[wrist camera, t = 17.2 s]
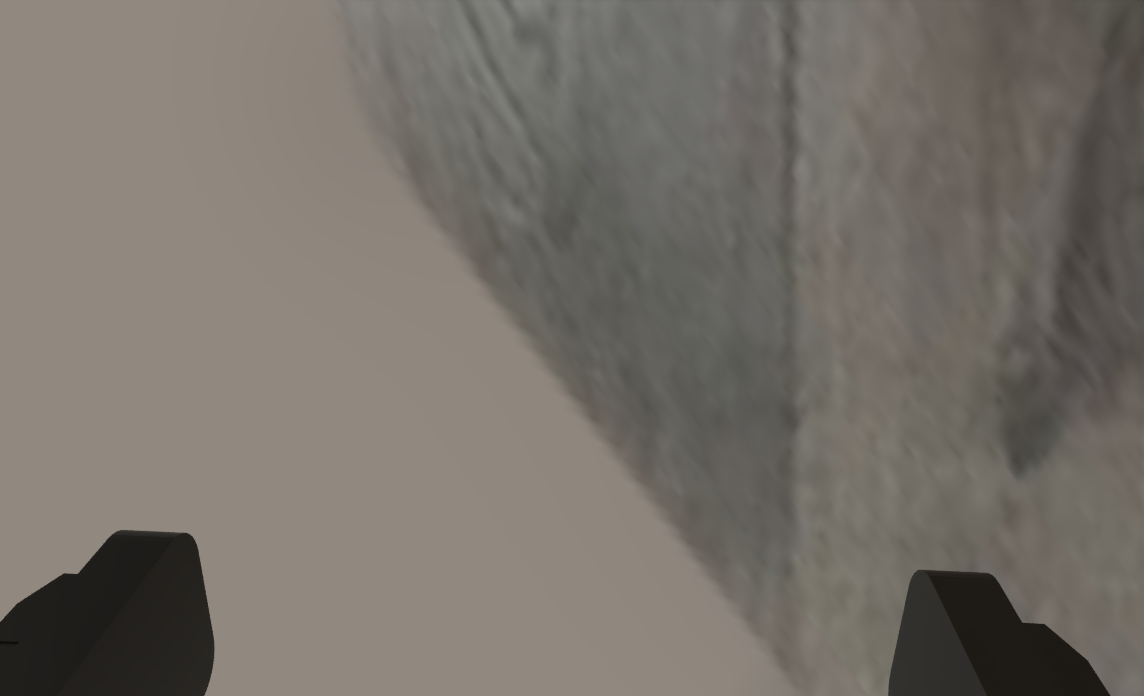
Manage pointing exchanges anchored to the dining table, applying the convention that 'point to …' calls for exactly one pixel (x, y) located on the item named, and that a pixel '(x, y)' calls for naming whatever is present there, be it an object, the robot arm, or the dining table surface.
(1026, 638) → the robot arm
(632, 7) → the dining table surface
